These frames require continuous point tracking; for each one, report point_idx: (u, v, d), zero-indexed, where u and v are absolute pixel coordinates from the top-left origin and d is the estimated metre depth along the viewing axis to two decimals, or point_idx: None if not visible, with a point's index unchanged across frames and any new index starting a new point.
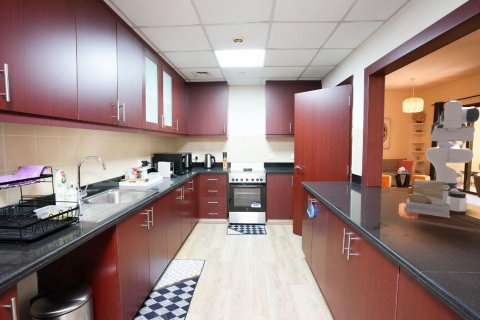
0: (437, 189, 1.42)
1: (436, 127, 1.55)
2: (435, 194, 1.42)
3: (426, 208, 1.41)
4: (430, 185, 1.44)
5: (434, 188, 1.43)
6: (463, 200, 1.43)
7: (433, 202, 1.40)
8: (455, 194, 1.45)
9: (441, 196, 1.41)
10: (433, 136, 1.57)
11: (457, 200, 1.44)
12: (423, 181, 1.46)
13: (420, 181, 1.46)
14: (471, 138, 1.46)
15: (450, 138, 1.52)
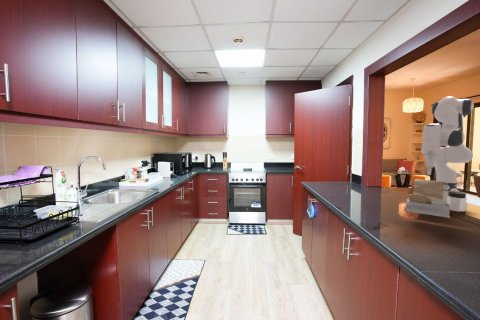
0: (437, 189, 1.42)
1: None
2: (435, 194, 1.42)
3: (426, 208, 1.41)
4: (430, 185, 1.44)
5: (434, 188, 1.43)
6: (463, 200, 1.43)
7: (433, 202, 1.40)
8: (455, 194, 1.45)
9: (441, 196, 1.41)
10: None
11: (457, 200, 1.44)
12: (423, 181, 1.46)
13: (420, 181, 1.46)
14: None
15: None
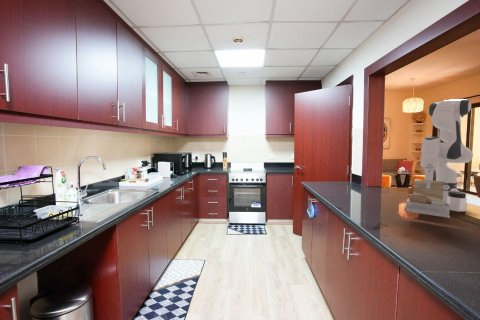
0: (437, 189, 1.42)
1: None
2: (435, 194, 1.42)
3: (426, 208, 1.41)
4: (430, 185, 1.44)
5: (434, 188, 1.43)
6: (463, 200, 1.43)
7: (433, 202, 1.40)
8: (455, 194, 1.45)
9: (441, 196, 1.41)
10: None
11: (457, 200, 1.44)
12: (423, 181, 1.46)
13: (420, 181, 1.46)
14: None
15: None
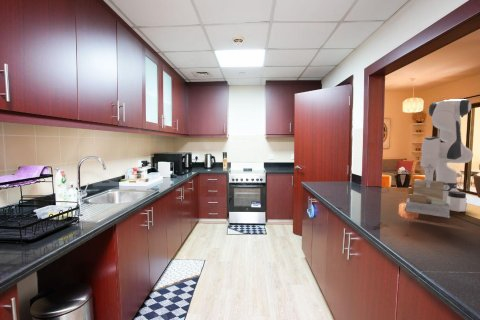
0: (437, 189, 1.42)
1: None
2: (435, 194, 1.42)
3: (426, 208, 1.41)
4: (430, 185, 1.44)
5: (434, 188, 1.43)
6: (463, 200, 1.43)
7: (433, 202, 1.40)
8: (455, 194, 1.45)
9: (441, 196, 1.41)
10: None
11: (457, 200, 1.44)
12: (423, 181, 1.46)
13: (420, 181, 1.46)
14: None
15: None
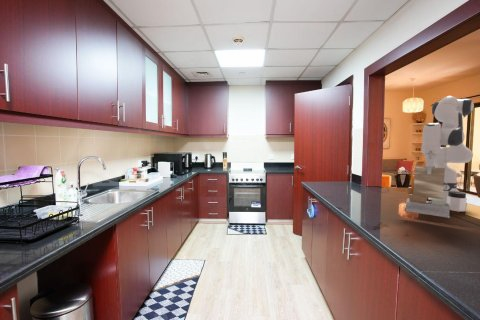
0: (438, 176, 1.41)
1: None
2: (436, 181, 1.42)
3: (426, 208, 1.41)
4: (431, 172, 1.43)
5: (435, 174, 1.42)
6: (463, 200, 1.43)
7: (433, 202, 1.40)
8: (455, 194, 1.45)
9: (442, 183, 1.40)
10: None
11: (457, 200, 1.44)
12: (424, 168, 1.45)
13: (421, 168, 1.46)
14: None
15: None
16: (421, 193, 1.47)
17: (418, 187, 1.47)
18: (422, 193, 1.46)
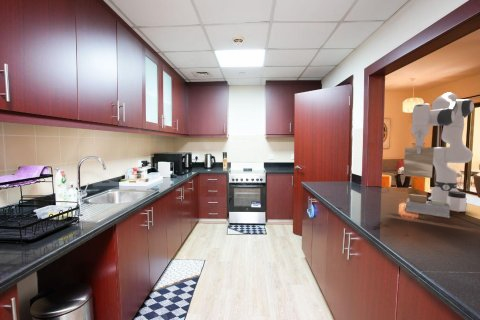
0: (427, 155, 1.44)
1: None
2: (425, 160, 1.44)
3: (426, 208, 1.41)
4: None
5: (424, 154, 1.45)
6: (463, 200, 1.43)
7: (433, 202, 1.40)
8: (455, 194, 1.45)
9: (431, 162, 1.43)
10: None
11: (457, 200, 1.44)
12: (414, 148, 1.48)
13: (411, 148, 1.48)
14: (415, 143, 1.41)
15: None
16: (411, 173, 1.49)
17: (408, 167, 1.50)
18: (412, 173, 1.49)
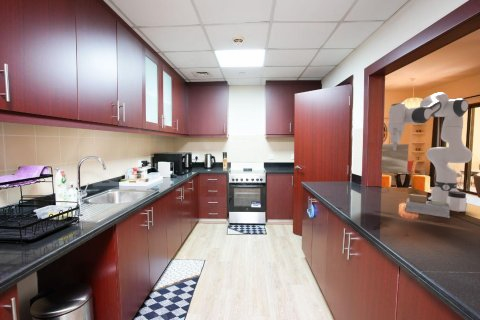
0: (402, 151, 1.52)
1: None
2: (401, 156, 1.53)
3: (426, 208, 1.41)
4: None
5: (400, 151, 1.53)
6: (463, 200, 1.43)
7: (433, 202, 1.40)
8: (455, 194, 1.45)
9: (406, 158, 1.51)
10: None
11: (457, 200, 1.44)
12: (390, 145, 1.56)
13: (388, 145, 1.57)
14: (390, 141, 1.49)
15: None
16: (388, 168, 1.57)
17: (385, 163, 1.58)
18: (389, 168, 1.57)
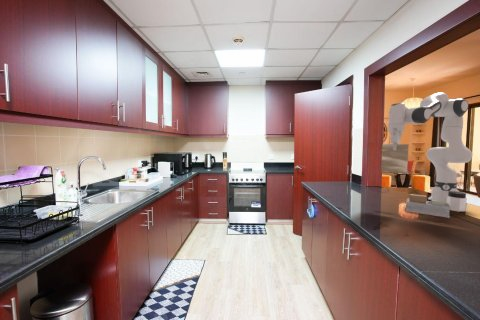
0: (402, 151, 1.52)
1: None
2: (401, 156, 1.53)
3: (426, 208, 1.41)
4: None
5: (400, 151, 1.53)
6: (463, 200, 1.43)
7: (433, 202, 1.40)
8: (455, 194, 1.45)
9: (406, 158, 1.51)
10: None
11: (457, 200, 1.44)
12: (390, 145, 1.56)
13: (388, 145, 1.57)
14: (390, 141, 1.49)
15: None
16: (388, 168, 1.57)
17: (385, 163, 1.58)
18: (389, 168, 1.57)
